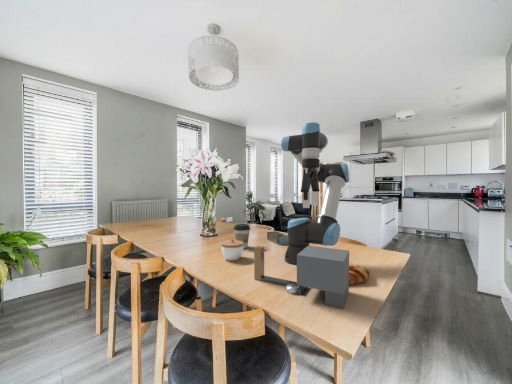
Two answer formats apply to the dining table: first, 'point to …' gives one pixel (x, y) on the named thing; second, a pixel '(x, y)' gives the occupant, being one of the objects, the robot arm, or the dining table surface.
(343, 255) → the grey l-shaped block
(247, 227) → the coffee cup
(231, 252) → the lidded bowl
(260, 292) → the dining table surface
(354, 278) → the croissant
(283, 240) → the beverage carton
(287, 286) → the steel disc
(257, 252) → the hook tool
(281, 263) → the dining table surface
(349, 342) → the dining table surface
